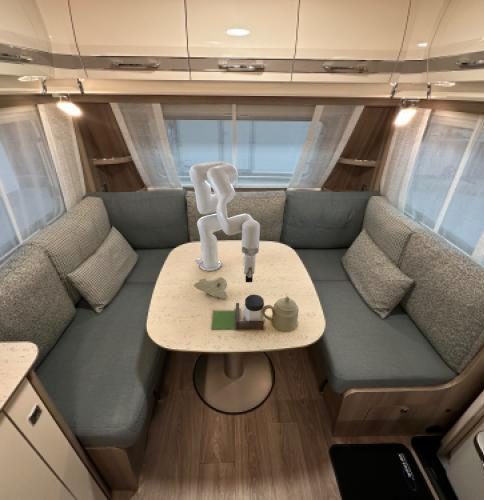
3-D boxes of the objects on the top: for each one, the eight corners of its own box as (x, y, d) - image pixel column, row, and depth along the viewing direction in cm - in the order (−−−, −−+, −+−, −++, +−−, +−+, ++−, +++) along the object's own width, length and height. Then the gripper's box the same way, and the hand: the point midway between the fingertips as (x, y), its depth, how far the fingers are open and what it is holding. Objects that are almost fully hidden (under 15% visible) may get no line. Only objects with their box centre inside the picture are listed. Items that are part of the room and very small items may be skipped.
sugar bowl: (277, 339, 111) (280, 313, 104) (260, 323, 119) (261, 298, 111) (301, 324, 119) (306, 298, 111) (284, 310, 127) (287, 285, 119)
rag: (211, 329, 117) (211, 328, 116) (213, 311, 126) (213, 311, 126) (234, 329, 117) (234, 328, 116) (234, 311, 126) (234, 310, 126)
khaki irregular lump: (233, 294, 140) (218, 270, 142) (235, 292, 133) (218, 267, 135) (208, 310, 136) (193, 285, 139) (208, 309, 129) (192, 283, 132)
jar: (257, 330, 116) (258, 310, 110) (241, 323, 119) (241, 303, 113) (266, 317, 122) (267, 297, 116) (250, 311, 126) (250, 291, 120)
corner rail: (235, 330, 116) (235, 323, 114) (236, 309, 127) (235, 302, 125) (263, 329, 116) (263, 323, 114) (261, 309, 127) (261, 302, 125)
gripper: (241, 239, 123) (240, 271, 132) (241, 257, 110) (241, 291, 119) (257, 239, 123) (255, 272, 132) (260, 257, 110) (257, 291, 119)
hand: (248, 281), depth 126 cm, fingers closed
